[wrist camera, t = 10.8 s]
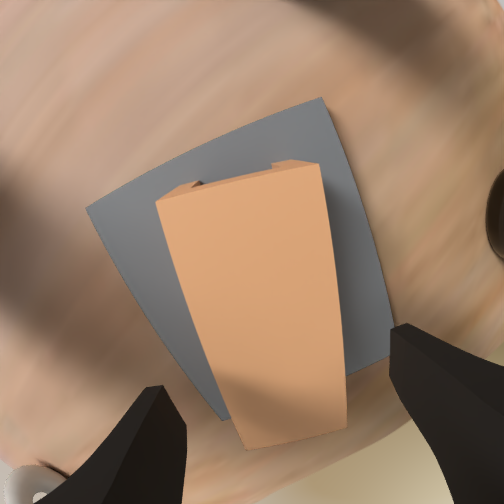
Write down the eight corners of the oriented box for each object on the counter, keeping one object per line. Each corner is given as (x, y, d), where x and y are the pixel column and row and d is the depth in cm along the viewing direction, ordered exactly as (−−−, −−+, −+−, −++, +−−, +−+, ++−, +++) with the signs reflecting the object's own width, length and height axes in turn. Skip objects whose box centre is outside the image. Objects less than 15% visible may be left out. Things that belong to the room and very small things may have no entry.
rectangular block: (325, 372, 17) (347, 427, 13) (242, 391, 17) (245, 450, 13) (291, 159, 13) (319, 163, 9) (179, 185, 13) (154, 201, 9)
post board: (93, 204, 14) (60, 220, 11) (315, 100, 13) (340, 86, 10) (222, 410, 19) (221, 450, 15) (392, 342, 18) (416, 374, 15)
